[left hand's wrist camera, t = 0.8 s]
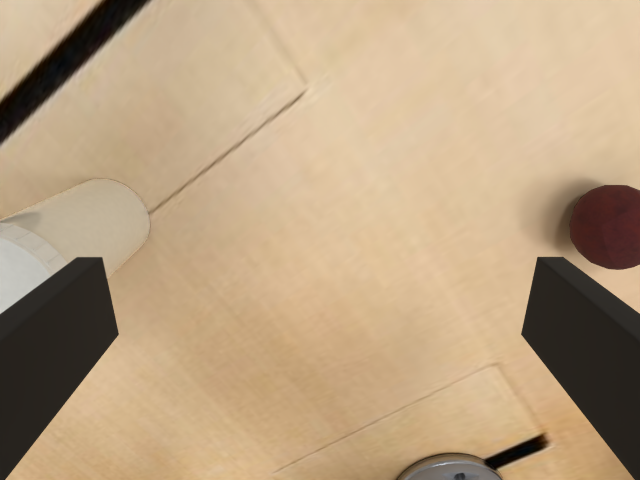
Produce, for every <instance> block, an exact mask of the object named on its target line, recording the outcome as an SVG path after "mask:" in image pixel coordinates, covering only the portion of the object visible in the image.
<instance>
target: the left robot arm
mask: <svg viewBox="0 0 640 480" xmlns="http://www.w3.org/2000/svg"><path fill="white" fill-rule="evenodd" d="M118 335H119V333H118V329H117V324H116V319H115V314H114V310H113V305H112V300H111V295H110V291H109V286H108V281H107V276H106V272H105V267H104V262H103V257H76V258H75V259H74V260H72V261H71V262H70V263H68V264H67V265H66V266H64V267H63V268H62V269H60V270H59V271H57V272H56V273H55V274H53V275H52V276H51V277H49V278H48V279H47V280H45V281H44V282H43V283H41V284H40V285H39V286H37V287H36V288H35V289H33V290H32V291H30V292H29V293H28V294H26V295H25V296H24V297H22V298H21V299H20V300H18V301H17V302H16V303H14V304H13V305H12V306H10V307H9V308H8V309H6V310H5V311H4V312H2V313H1V314H0V480H5V479H6V478H7V477H8V475H9V474H10V473H11V472H12V470H13V469H14V468H15V466H16V465H17V464H18V463H19V461H20V460H21V459H22V458H23V456H24V455H25V454H26V452H27V451H28V450H29V449H30V447H31V446H32V445H33V443H34V442H35V441H36V440H37V438H38V437H39V436H40V434H41V433H42V432H43V431H44V429H45V428H46V427H47V426H48V424H49V423H50V422H51V420H52V419H53V418H54V417H55V415H56V414H57V413H58V411H59V410H60V409H61V408H62V406H63V405H64V404H65V402H66V401H67V400H68V399H69V397H70V396H71V395H72V394H73V392H74V391H75V390H76V388H77V387H78V386H79V385H80V383H81V382H82V381H83V379H84V378H85V377H86V376H87V374H88V373H89V372H90V371H91V369H92V368H93V367H94V365H95V364H96V363H97V362H98V360H99V359H100V358H101V356H102V355H103V354H104V353H105V351H106V350H107V349H108V347H109V346H110V345H111V344H112V342H113V341H114V340H115V339H116V337H117V336H118ZM521 335H522V336H523V337H524V339H525V340H526V341H527V342H528V344H529V345H530V346H531V347H532V349H533V350H534V351H535V353H536V354H537V355H538V356H539V358H540V359H541V360H542V362H543V363H544V364H545V365H546V367H547V368H548V369H549V371H550V372H551V373H552V374H553V376H554V377H555V378H556V379H557V381H558V382H559V383H560V385H561V386H562V387H563V388H564V390H565V391H566V392H567V394H568V395H569V396H570V397H571V399H572V400H573V401H574V402H575V404H576V405H577V406H578V408H579V409H580V410H581V411H582V413H583V414H584V415H585V417H586V418H587V419H588V420H589V422H590V423H591V424H592V426H593V427H594V428H595V429H596V431H597V432H598V433H599V434H600V436H601V437H602V438H603V440H604V441H605V442H606V443H607V445H608V446H609V447H610V449H611V450H612V451H613V452H614V454H615V455H616V456H617V458H618V459H619V460H620V461H621V463H622V464H623V465H624V466H625V468H626V469H627V470H628V472H629V473H630V474H631V475H632V477H633V478H634V479H635V480H640V314H639V313H638V312H636V311H635V310H634V309H632V308H631V307H630V306H628V305H627V304H626V303H624V302H623V301H622V300H620V299H619V298H618V297H616V296H615V295H614V294H612V293H611V292H610V291H608V290H607V289H605V288H604V287H603V286H601V285H600V284H599V283H597V282H596V281H595V280H593V279H592V278H591V277H589V276H588V275H587V274H585V273H584V272H583V271H581V270H580V269H578V268H577V267H576V266H574V265H573V264H572V263H570V262H569V261H568V260H566V259H565V258H564V257H537V262H536V267H535V272H534V276H533V281H532V286H531V291H530V295H529V300H528V305H527V310H526V314H525V319H524V324H523V329H522V333H521Z"/></svg>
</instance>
